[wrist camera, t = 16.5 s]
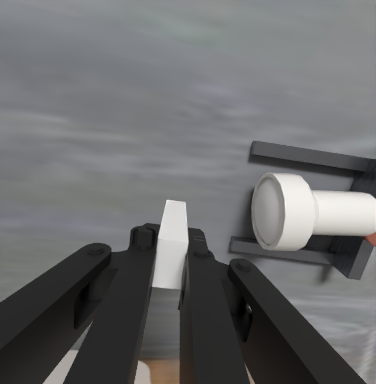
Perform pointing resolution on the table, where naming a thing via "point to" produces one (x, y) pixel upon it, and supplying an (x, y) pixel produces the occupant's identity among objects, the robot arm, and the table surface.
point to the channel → (341, 244)
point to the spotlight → (306, 212)
